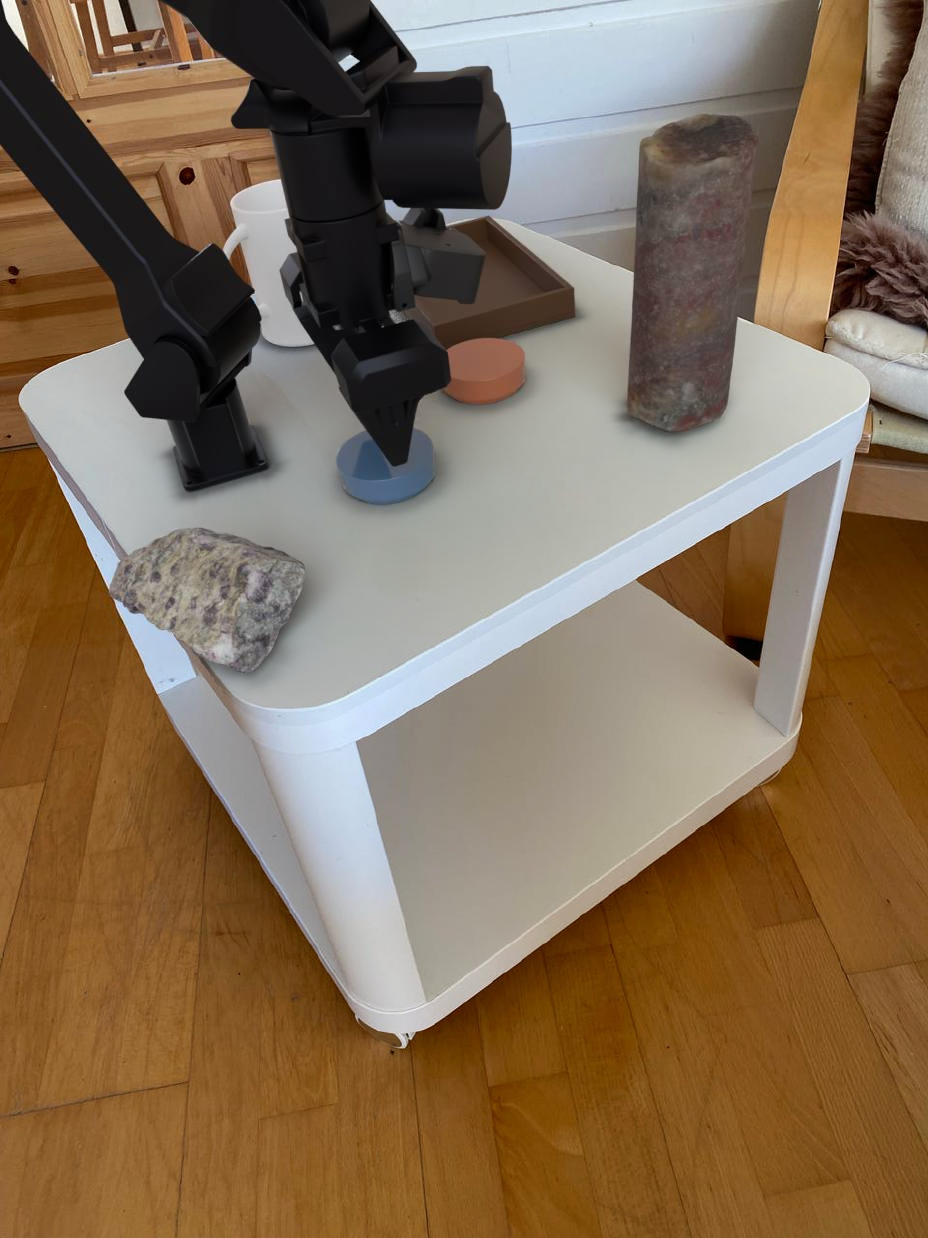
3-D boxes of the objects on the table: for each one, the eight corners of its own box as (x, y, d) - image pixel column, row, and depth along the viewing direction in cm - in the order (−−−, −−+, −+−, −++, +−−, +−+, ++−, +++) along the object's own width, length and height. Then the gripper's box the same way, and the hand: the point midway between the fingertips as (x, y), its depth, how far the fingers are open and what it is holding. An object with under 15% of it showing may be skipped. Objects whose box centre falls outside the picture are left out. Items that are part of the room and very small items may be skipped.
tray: (575, 316, 85) (574, 287, 83) (437, 354, 82) (433, 325, 80) (491, 241, 99) (489, 215, 97) (371, 272, 96) (366, 245, 94)
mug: (264, 371, 83) (227, 235, 75) (215, 343, 88) (175, 212, 80) (370, 320, 88) (345, 187, 80) (318, 296, 93) (290, 169, 85)
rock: (266, 689, 54) (338, 561, 60) (209, 625, 50) (291, 495, 56) (114, 680, 61) (191, 565, 66) (53, 623, 57) (140, 506, 62)
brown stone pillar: (750, 417, 70) (785, 126, 56) (677, 456, 67) (694, 160, 54) (677, 380, 75) (693, 103, 61) (606, 414, 72) (606, 134, 59)
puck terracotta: (540, 392, 76) (538, 365, 74) (459, 416, 74) (455, 389, 73) (506, 356, 81) (504, 329, 79) (429, 377, 79) (426, 351, 78)
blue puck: (450, 490, 67) (446, 462, 66) (357, 519, 66) (351, 491, 64) (419, 443, 72) (415, 415, 71) (331, 469, 71) (325, 441, 69)
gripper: (524, 222, 51) (538, 465, 61) (414, 133, 64) (442, 346, 74) (325, 273, 48) (375, 515, 59) (254, 170, 62) (305, 384, 72)
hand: (379, 431), depth 66 cm, fingers open, 9 cm apart
